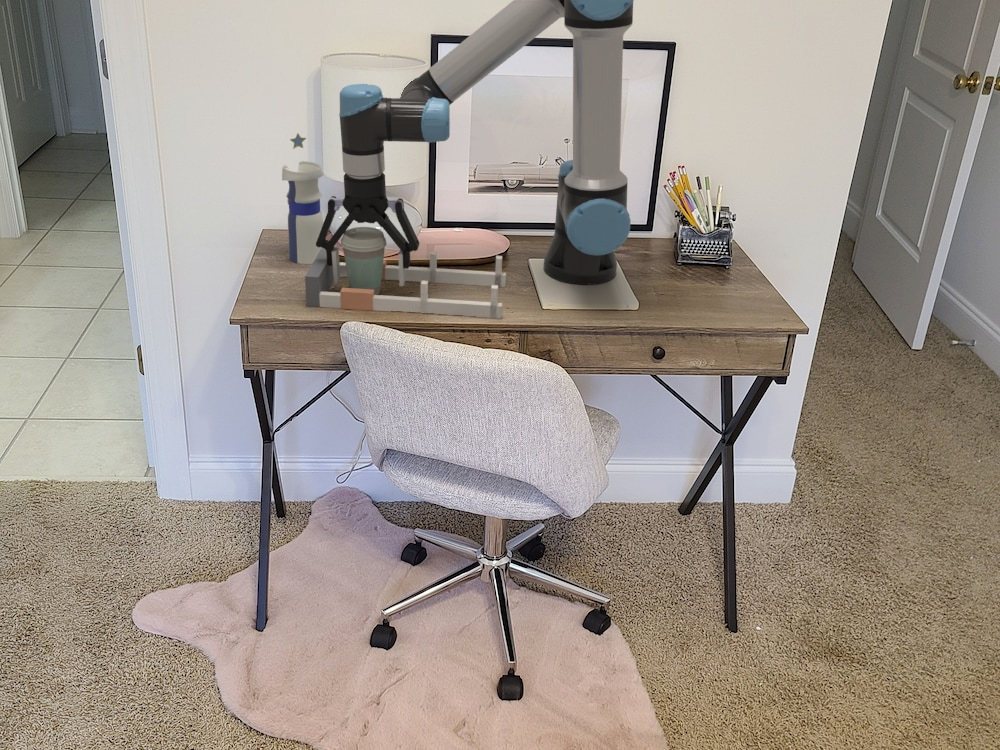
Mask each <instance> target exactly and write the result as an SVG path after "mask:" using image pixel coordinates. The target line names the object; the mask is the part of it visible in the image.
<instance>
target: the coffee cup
mask: <svg viewBox="0 0 1000 750" xmlns="http://www.w3.org/2000/svg"><path fill="white" fill-rule="evenodd" d="M340 240H341V242H340V246H342V249H343V255H344V262H345V264H346V270H347V277H346V278H347V281H348V282H347V283H348V288H357V289H373V290H374V295H379V294H380V293H381V285H382V280H381V279H382V269H383V260H385V259H384V256H385V247H386V246H387V238H386V237H385V234H384V231H382V230H381V229H379V228H376V227H372V226H370V227H369V226H357V227H351V228H349V229H348V228H347V229H346V231H345V232H344V234H343V235H342V238H341V239H340Z"/></svg>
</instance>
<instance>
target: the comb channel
mask: <svg viewBox="0 0 1000 750" xmlns="http://www.w3.org/2000/svg"><path fill="white" fill-rule="evenodd" d="M334 247H337V246H336V245H335V246H334ZM429 253H430V254H429V267H423V266H420V267H419V266H409V268H408V269H405V282H416V283H420V297H415V296H402V295H401V296H399V295H398V296H397V295H396V296H395V295H383V294H380V295H379V294H378V295H374V290H373V289H357V288H349V287H341V289H340V292H336V291H329V290H330V288H331V286H332V284H333V283H334V278H333V266H328V264H327V253H326V250H325V249H324V248H321V250H320V252H319V253H318V255H317V257H316V258H315V260H314V262H313V264H310V267H309V269H308V271H307V272H306V274H305V276H304V283H305V300H306V307H312V308H313V307H316V308H318V307H319V308H332V309H342V310H343V309H344V310H358V311H372V312H373V311H378V312H391V311H408V312H409V311H410V312H424V313H434V314H433V315H438V314H447V315H446V316H453V315H463V316H462V317H469V316H476V317H475V318H485V317H486V318H487V319H488V318H489V319H502V315H503V303H502V302H498V300H499V299H498V297H499V296H498V295H499V288H506V283H507V282H506V280H507V272H503V271H502V270H503V256H502V255H496V256H495V269H494V270H495V271H487V270H486V271H485V270H484V271H483V270H471V269H469V270H467V269H455V268H454V269H452V268H451V269H450V268H437V266H438V264H437V263H438V251H430V252H429ZM339 262H340V277H341V278H348V277H347V270H346V264H345V261H344V262H343V261H339ZM388 280H389V281H399V265H393V264H391V265H389V264H387V260H386V259H383V269H382V279H381V281H388ZM429 283H432V284H449V285H464V286H465V285H466V286H480V287H483V286H484V287H491V288H490V301H475V300H461V299H444V298H430V297H429ZM435 313H436V314H435Z"/></svg>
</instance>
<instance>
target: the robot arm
mask: <svg viewBox="0 0 1000 750" xmlns="http://www.w3.org/2000/svg"><path fill="white" fill-rule="evenodd" d="M634 1H635V0H512V1H510V2H509V3H508V4H507V5H506V6H505V7H504V8H502V9H501V10H499V11H498V12H497V13H496V14H495V15H493V16H492V17H491V18H490V19H489V20H488V21H486V22H485V23H484V24H483V25H481V26H480V27H478V28H477V29H476V30H475V31H474V32H473V33H471V34H470V35H469V36H467V38H465V39H463V41H461V42H460V43H459V44H457V46H456V47H453V48H452V49H451V51H449V52H448V53H447V54H445V55H444V56H443V57H442V58H441V59H439V60H437V62H436V63H434V64H433V65H432V66H430V68H428V69H427V70H426V71H425V72H423V73H422V74H421V75H419V76H418V77H415V79H414V78H413V79H414V80H413V81H411V82H410V83H409V84H408V85H407V86H406V87H405V88H404V90H403V89H402V90H403V92H402V94H401V93H400V94H401V97H400V96H399V97H397V98H394V97H393V98H391V97H384V95H383V91H382V89H381V87H380V86H378V85H376V84H368V83H355V84H354V83H353V84H349V85H346V86H344V87H343V88H341V90H340V92H339V124H340V136H341V137H340V138H341V154H342V155H341V156H342V170H343V171H342V172H343V173H344V175H343V186H344V198H337V196H335V195H333V196H331V197H329V200H328V202H327V213H326V216H325V219H324V220H323V226H322V229H321V231H320V234H319V237H318V239H317V242H316V246H317V247H322V248H324V249H325V250H326V253H327V264H328V266H333V278H334V280H333V284H339V282H340V280H341V278H342V277H340V262H341V261H340V250H339V249H340V247H339V246H336V245H337V243H338V241H339V240H341V239H342V238H341V237H343V234H344V232H345V231H346V230H348V228H349V227H350V226H351V224H352V223H353V221H355V222H357V224H363V223H368V224H375V223H377V224H378V225H379V226H380V228H383V230H384V231H385V232H386V234H387V235H388V237H390V238H391V240H392V241H393V242H394V243H395V245H396V246H397V247H398V249H400V250H399V252H398V255H397V257H398V266H399V280H398V283H399V284H398V285H399V287H404V286H405V282H406V281H405V269H408V268H409V267H411V266H410V265H411V252H416V251H418V249H419V247H420V241H419V238H418V237H417V235H416V233H415V231H414V229H413V226H412V224H411V222H410V219H409V218H408V215H407V213H406V211H405V206H404V199H403V198H402V197H401V198H399V197H398V198H397V199H395V200H389V199H388V198H387V192H386V191H387V189H386V188H387V187H386V174H385V173H384V172H385V169H386V166H385V164H386V163H385V145H384V144H385V142H401V143H402V142H408V143H409V142H410V143H429V144H431V143H438V142H439V143H440V142H446V141H448V140H449V138H450V136H451V135H450V132H451V131H450V130H451V129H450V128H451V127H450V126H451V125H450V124H451V123H450V122H451V119H450V115H451V114H450V113H451V112H450V105H451V104H453V103H454V102H455V101H457V100H458V99H459V98H460V97H462V96H463V95H464V94H465V93H467V92H468V91H469V90H470V89H471V88H473V87H474V86H476V84H478V83H479V82H480V81H483V79H485V78H486V77H487V76H488V75H490V74H491V73H492V72H494V71H495V69H497V68H499V66H500V65H502V64H504V63H505V62H506V61H507V60H509V59H510V58H511V57H513V56H514V55H515V54H516V53H517V52H519V51H520V50H521V49H522V48H524V47H525V46H527V45H528V44H529V43H530V42H532V41H534V39H535V38H537V37H538V36H539V35H540V34H542V33H543V32H544V31H546V29H548V28H549V27H551V25H553V24H554V23H555V22H557V21H558V20H559V19H561V18H564V27H565V28H566V29H567V30H568V31H569V32H570V34H572V44H573V45H572V46H573V47H572V52H573V53H572V55H573V56H572V159H569V160H565V161H563V162H562V163H561V164H560V166H559V171H558V175H557V178H558V183H557V184H558V185H557V199H556V213H555V223H554V224H555V225H554V234H553V236H552V238H551V241H550V242H549V245H548V248H547V250H546V253H545V255H544V258H543V270H544V272H545V273H546V274H547V276H549V277H551V278H553V279H555V280H558V281H560V282H561V281H562V282H564V283H569V284H575V285H595V284H596V285H597V284H602V283H605V282H606V283H607V282H609V281H611V280H612V279H614V278H615V277H616V275H617V268H618V261H617V257H616V253H615V251H616V250H618V248H620V247H621V246H622V245H623V244H624V243H625V241H626V240H627V238H628V237H629V233H630V231H631V217H630V216H631V215H630V213H629V211H628V180H629V179H628V177H627V175H626V174H625V173H623V172H622V170H621V168H620V166H621V164H620V163H621V133H622V132H621V130H622V129H621V127H622V94H623V92H622V91H623V90H622V89H623V63H624V62H623V59H624V58H623V55H624V52H623V51H624V35H625V33H626V32H627V31H628V30H629V29H630V28H631V27H632V26H633V23H634V19H633V15H634ZM342 206H343V208H344V210H345V211H346V212H347V213H348V214H347V216H346V217H345V219H344V220H343V221H342V223H341V224H340V225H339V227H338V228H337V229H336V231H335V232H334V234H333V235H332V236H331V237H330V239H329V240H328V239H326V238H327V235H328V233H329V231H330V228H331V226H332V223H333V220H334V218H335V215H336V212H338V211H339V210H340V208H341V207H342ZM389 208H390V209H391V212H393V213H395V215H396V219H397V221H398V223H399V225H400V227H401V229H402V231H403V234H404V235H405V237H406V238H405V237H404V236H403V234H402V233H401V232H400V231H399V230H398V228H397V227H396V225H395V224H394V223H393V222H392V221H391V220H390V217H389V215H388V214H387V213H386V211H387V210H388V209H389ZM340 238H341V239H340ZM406 239H407V240H406ZM334 246H336V247H334Z"/></svg>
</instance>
